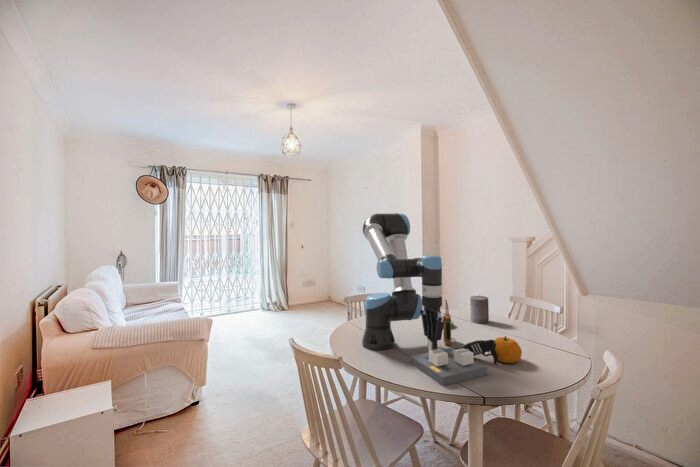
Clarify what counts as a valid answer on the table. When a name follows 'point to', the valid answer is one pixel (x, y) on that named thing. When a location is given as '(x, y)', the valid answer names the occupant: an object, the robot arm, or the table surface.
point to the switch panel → (448, 368)
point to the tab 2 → (463, 356)
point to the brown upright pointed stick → (448, 329)
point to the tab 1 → (438, 357)
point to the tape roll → (451, 324)
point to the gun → (483, 348)
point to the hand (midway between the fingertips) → (432, 356)
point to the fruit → (507, 350)
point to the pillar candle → (479, 309)
